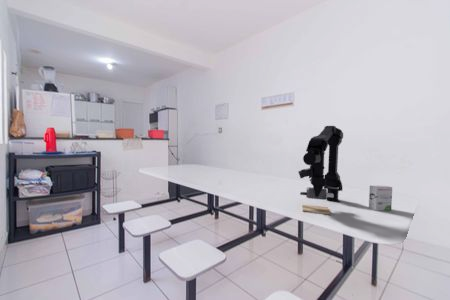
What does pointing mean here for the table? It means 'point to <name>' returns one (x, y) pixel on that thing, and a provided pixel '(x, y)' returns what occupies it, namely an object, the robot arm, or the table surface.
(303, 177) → the robot arm
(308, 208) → the light brown wooden board
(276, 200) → the table surface
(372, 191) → the ink box
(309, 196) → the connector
